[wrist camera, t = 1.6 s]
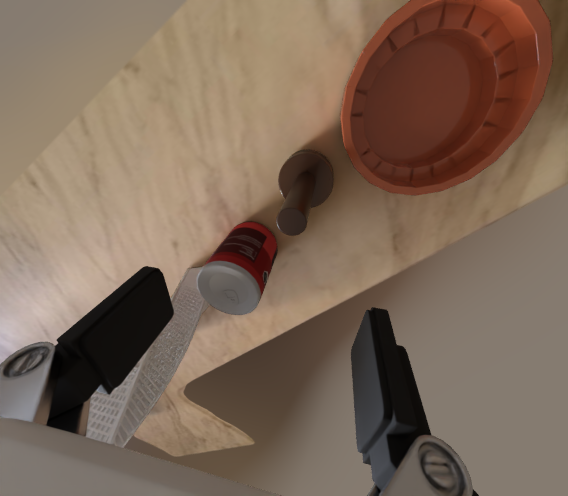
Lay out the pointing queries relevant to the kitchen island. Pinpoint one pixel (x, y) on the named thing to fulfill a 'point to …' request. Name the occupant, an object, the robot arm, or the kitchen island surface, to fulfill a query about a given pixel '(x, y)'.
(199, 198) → the kitchen island surface
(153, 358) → the skyscraper
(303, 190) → the brown coffee tamper
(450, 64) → the bowl
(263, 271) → the canned food
